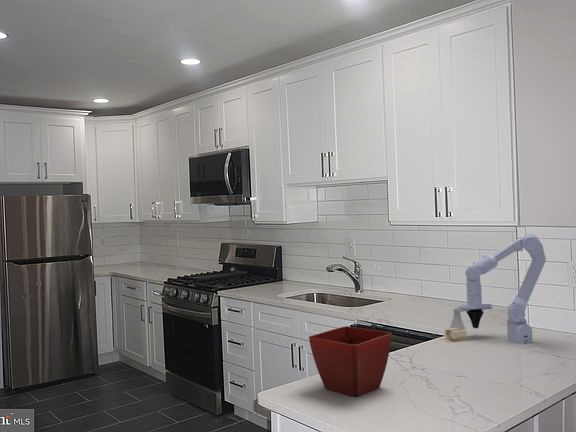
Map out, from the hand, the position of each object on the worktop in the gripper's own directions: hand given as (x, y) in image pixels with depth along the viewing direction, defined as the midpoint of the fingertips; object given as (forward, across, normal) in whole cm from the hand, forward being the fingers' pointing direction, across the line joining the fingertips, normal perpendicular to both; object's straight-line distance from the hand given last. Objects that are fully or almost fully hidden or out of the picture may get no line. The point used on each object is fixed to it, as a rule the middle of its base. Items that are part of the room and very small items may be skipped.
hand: (475, 327), depth 222 cm
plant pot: (+5, +67, +40) cm, 78 cm away
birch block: (+4, +9, 0) cm, 10 cm away
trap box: (+5, +5, 0) cm, 7 cm away
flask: (+6, -2, -18) cm, 19 cm away
